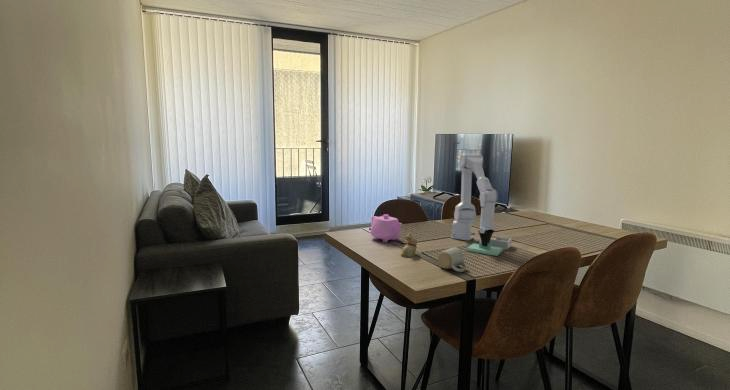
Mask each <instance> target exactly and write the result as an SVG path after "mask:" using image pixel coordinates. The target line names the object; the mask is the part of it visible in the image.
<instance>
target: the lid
mask: <svg viewBox="0 0 730 390" xmlns="http://www.w3.org/2000/svg"><path fill="white" fill-rule="evenodd" d="M478 242H479V243H475V242H474V243H471V244H470V245H469V246H467V247H466V251H467V252H471V253H472V252H473V253H477V254H483V255H491V256H496V257H498V256H499V255H500V254H501V253H503V251H504V250H503V248H500V247H494V246H491V243H488V245H487V247H485V246H482V243H481V241H478Z"/></svg>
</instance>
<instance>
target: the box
mask: <svg viewBox="0 0 730 390" xmlns="http://www.w3.org/2000/svg"><path fill="white" fill-rule="evenodd" d="M512 242H513V239H512V238H511V237H504V236H498V235H492V236H491V239H490V242H489V243H491V246H494V247H500V248H503V251H508V250H510V248H511V247H512Z"/></svg>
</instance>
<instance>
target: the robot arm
mask: <svg viewBox="0 0 730 390" xmlns="http://www.w3.org/2000/svg"><path fill="white" fill-rule="evenodd" d="M458 162H459V171H460V170H461V184H460V185H461V186H460V188H461V189H460V202H459V203H458V204H457V205H455V207H454V208H455V209H454V212H453V217H454V219H455V220H453V221H452V224H451V234H450V235H451V236H450V238H451V239H456V240H462V241H468V242H469V241H470V240H472V239H474V236H472V224H473V223H474V220H475V219H476V218H477V213H476V207H475V205H474V204H473V203H472V182H473V181H472V179H473V177H472V176H473V173H474V175H475V177H476V179H477V180H476V185H477V188H478V191H479V202H480V208H481V210H480V221H479V224H480V225H479V230H478V234H479V237H480V240H481V241H480V242H481V243H482V246H485V247H487V245H488V243H489V242H490V239H491V236H493V234H494V232H495V229H496V226H494V222H495V221H494V219H495V207H496V204H495V203H497V202H498V200H499V195H498V194H499V193H498V191H497V190H496V189H494V188H493V186H492V184H491V182H490V180H489V178H488V177H486V176H485V171H484V168H483V163H484V157H483V155H482V154H481V153H462V154H461V155H460V157H459V161H458Z"/></svg>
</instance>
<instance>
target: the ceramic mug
mask: <svg viewBox="0 0 730 390" xmlns="http://www.w3.org/2000/svg"><path fill="white" fill-rule="evenodd" d="M437 256H438V257H437V262H438V265H439V266H440V267H441V268H442V269H444V270H450V269H453V270H454V271H456V272H459V273H462V272H463V273H464V272H465V271H466V268H467V267H466V266H467V265H466V264H465V263H464V261H465V257H464V253H463V252H462V250H461V249H460V248H458V247H455V246H454V247H450V248H447V249H445V250H442V251H440V252H439V254H438V255H437ZM460 266H462V268H458V267H460Z"/></svg>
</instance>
